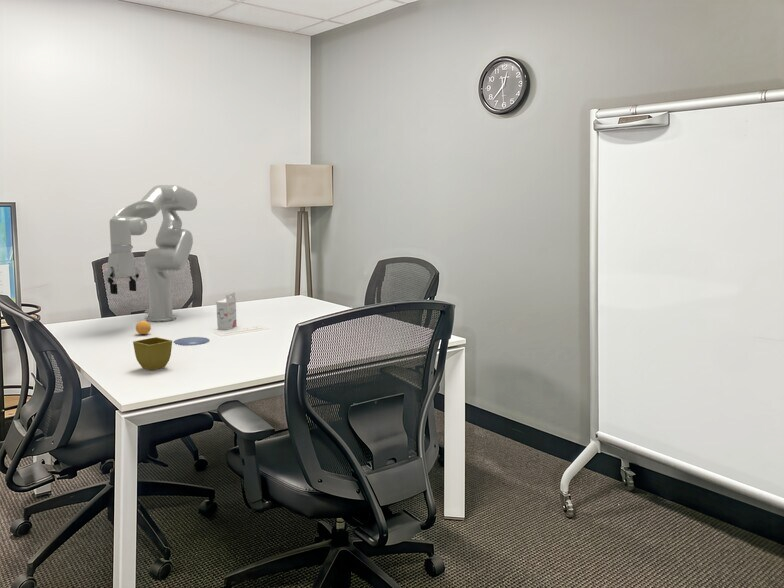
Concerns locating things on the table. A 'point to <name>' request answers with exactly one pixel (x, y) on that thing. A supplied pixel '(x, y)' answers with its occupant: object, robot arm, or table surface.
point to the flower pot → (153, 352)
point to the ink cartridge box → (226, 312)
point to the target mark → (191, 341)
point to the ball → (143, 327)
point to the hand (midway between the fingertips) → (123, 292)
